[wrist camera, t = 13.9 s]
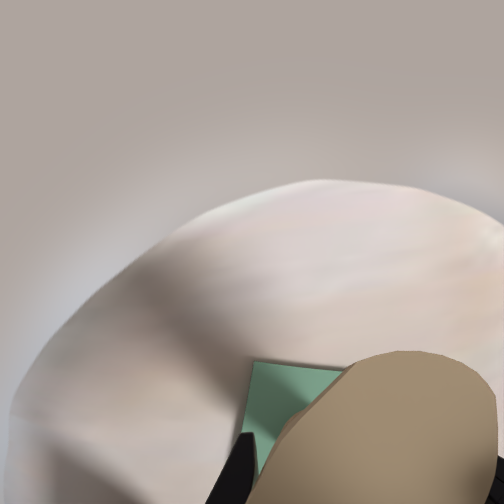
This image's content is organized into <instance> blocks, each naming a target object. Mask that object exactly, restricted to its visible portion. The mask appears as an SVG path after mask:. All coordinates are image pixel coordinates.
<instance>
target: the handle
mask: <svg viewBox="0 0 504 504" xmlns="http://www.w3.org/2000/svg"><path fill="white" fill-rule="evenodd" d="M497 456H498V422H497V408H496V397H495V394H494V393H493V391H492V390H491V388H490V387H489V385H488V384H487V383H486V382H485V380H484V379H483V378H482V377H481V376H480V375H479V374H478V373H477V372H476V371H474V370H473V369H471V368H469V367H468V366H466V365H465V364H463V363H461V362H459V361H456V360H453V359H451V358H448V357H445V356H443V355H438V354H432V353H427V352H422V351H394V352H390V353H385V354H380V355H376V356H373V357H370V358H367V359H364V360H361V361H358V362H356V363H354V364H352V365H350V366H348V367H347V368H346V369H345V370H344V371H343V372H342V373H341V374H340V375H339V376H338V377H337V378H336V379H335V380H334V381H333V382H332V383H331V384H330V385H329V386H328V387H327V388H326V389H325V390H323V391H322V392H321V393H320V394H319V395H318V396H317V397H316V398H315V399H314V400H313V401H312V402H311V403H310V404H309V405H308V406H307V407H306V408H305V409H304V410H302V411H300V412H298V413H296V414H295V415H293V416H292V417H291V418H290V419H289V420H288V421H287V422H286V424H285V425H284V427H283V429H282V430H281V433H280V435H279V436H278V438H277V440H276V442H275V443H274V445H273V447H272V449H271V451H270V453H269V455H268V457H267V459H266V461H265V464H264V466H263V468H262V470H261V472H260V474H259V476H258V478H257V480H256V482H255V484H254V486H253V488H252V491H251V493H250V495H249V497H248V499H247V501H246V503H245V504H485V501H486V499H487V497H488V494H489V491H490V489H491V486H492V483H493V480H494V476H495V471H496V464H497Z"/></svg>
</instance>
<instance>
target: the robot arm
mask: <svg viewBox="0 0 504 504" xmlns="http://www.w3.org/2000/svg"><path fill="white" fill-rule="evenodd" d="M258 476H259V470H258V459H257V448H256V441H255V435H254V432H242V433H240V434H239V436H238V438H237V440H236V443H235V445H234V447H233V449H232V451H231V453H230V455H229V457H228V459H227V461H226V463H225V465H224V467H223V469H222V471H221V473H220V475H219V477H218V479H217V481H216V483H215V485H214V487H213V489H212V491H211V493H210V495H209V497H208V499H207V501H206V503H205V504H245V503H246V501H247V499H248V497H249V495H250V493H251V491H252V488H253V486H254V484H255V482H256V480H257V478H258ZM485 504H504V458H502V457H500V456H497V464H496V471H495V476H494V480H493V483H492V486H491V489H490V491H489V494H488V497H487V499H486V501H485Z"/></svg>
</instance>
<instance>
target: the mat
mask: <svg viewBox="0 0 504 504" xmlns="http://www.w3.org/2000/svg"><path fill="white" fill-rule="evenodd" d="M341 373H342V371H330V370H320V369H310V368H301V367H293V366H285V365H278V364H271V363H264V362H257V361H254V365H253V370H252V376H251V382H250V387H249V393H248V399H247V404H246V410H245V415H244V421H243V426H242V431H241V433H242V432H254V435H255V441H256V448H257V459H258V470H259V474H260V472H261V470H262V468H263V466H264V464H265V461H266V459H267V457H268V455H269V453H270V451H271V449H272V447H273V445H274V443H275V442H276V440H277V438H278V436H279V435H280V433H281V430H282V429H283V427H284V425H285V424H286V422H287V421H288V420H289V419H290V418H291V417H292V416H293V415H295V414H296V413H298V412H300V411H302V410H304V409H305V408H306V407H307V406H308V405H309V404H310V403H311V402H312V401H313V400H314V399H315V398H316V397H317V396H318V395H319V394H320V393H321V392H322V391H323V390H325V389H326V388H327V387H328V386H329V385H330V384H331V383H332V382H333V381H334V380H335V379H336V378H337V377H338V376H339V375H340V374H341Z"/></svg>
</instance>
